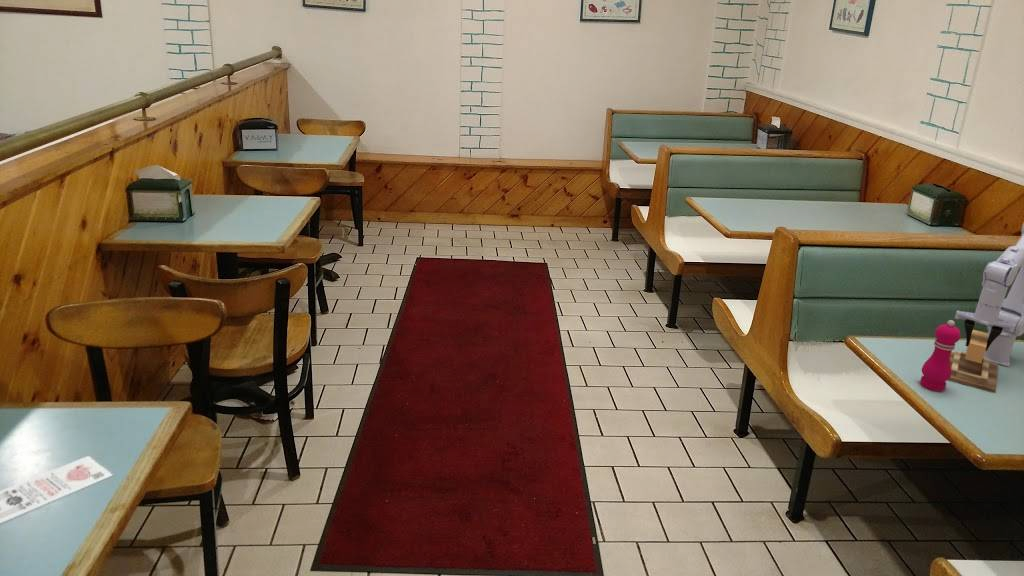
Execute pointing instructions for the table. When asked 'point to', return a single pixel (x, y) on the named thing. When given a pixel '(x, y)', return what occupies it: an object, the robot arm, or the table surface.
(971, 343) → the tan block
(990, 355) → the robot arm
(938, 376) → the pepper mill
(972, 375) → the jig
